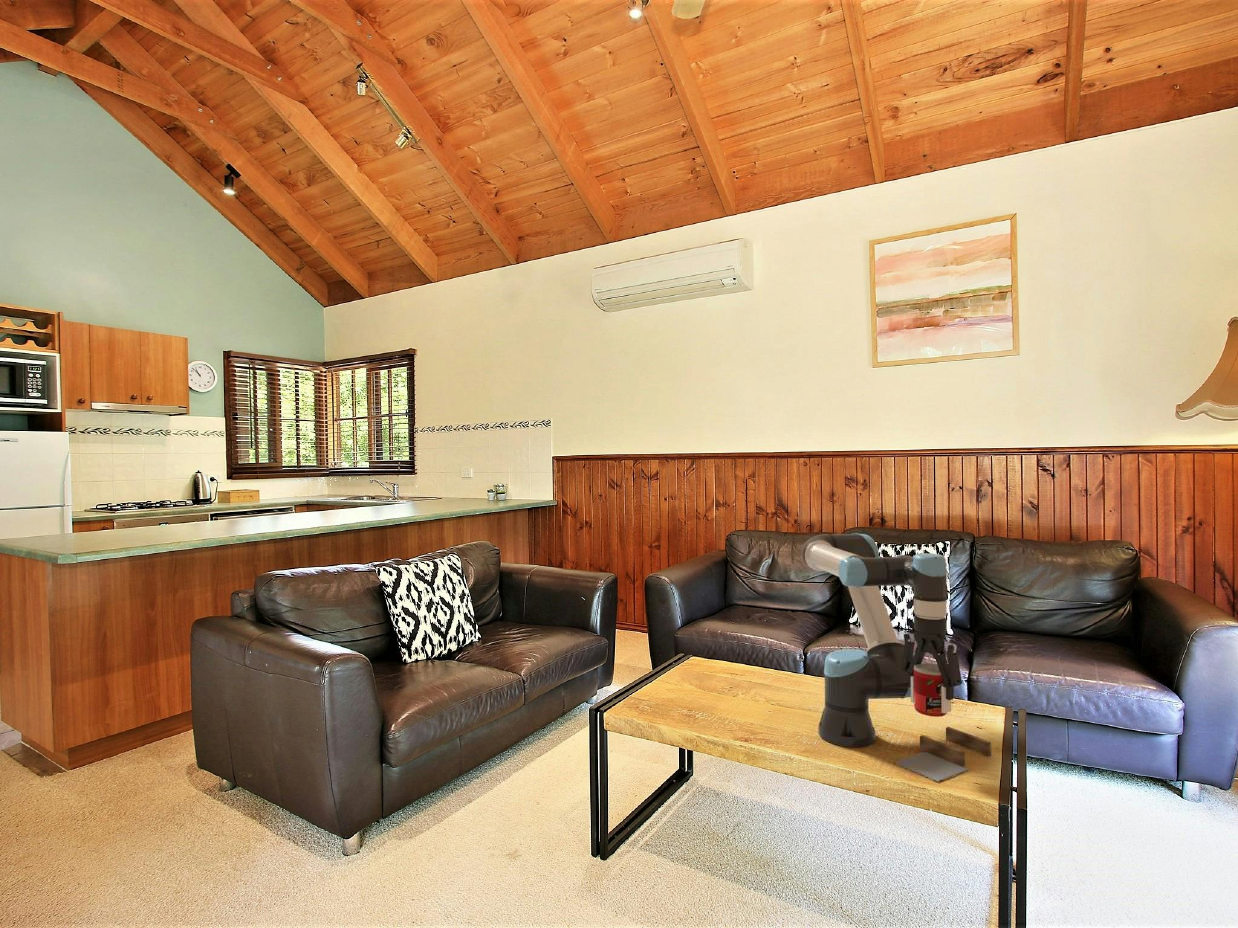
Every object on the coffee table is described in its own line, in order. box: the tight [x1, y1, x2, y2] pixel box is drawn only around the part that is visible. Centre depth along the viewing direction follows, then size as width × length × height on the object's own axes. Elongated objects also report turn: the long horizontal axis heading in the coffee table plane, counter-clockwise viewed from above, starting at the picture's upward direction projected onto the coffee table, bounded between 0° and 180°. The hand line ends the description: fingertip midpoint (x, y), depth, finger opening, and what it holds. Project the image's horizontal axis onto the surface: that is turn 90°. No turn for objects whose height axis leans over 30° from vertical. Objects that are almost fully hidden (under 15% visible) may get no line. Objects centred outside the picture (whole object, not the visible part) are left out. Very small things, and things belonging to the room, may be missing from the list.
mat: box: [894, 751, 969, 783], centre depth 170 cm, size 12×12×1 cm
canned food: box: [913, 662, 948, 718], centre depth 170 cm, size 8×8×11 cm
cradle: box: [919, 726, 992, 767], centre depth 178 cm, size 12×12×4 cm
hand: (930, 706), depth 170 cm, fingers closed on canned food, 8 cm apart
